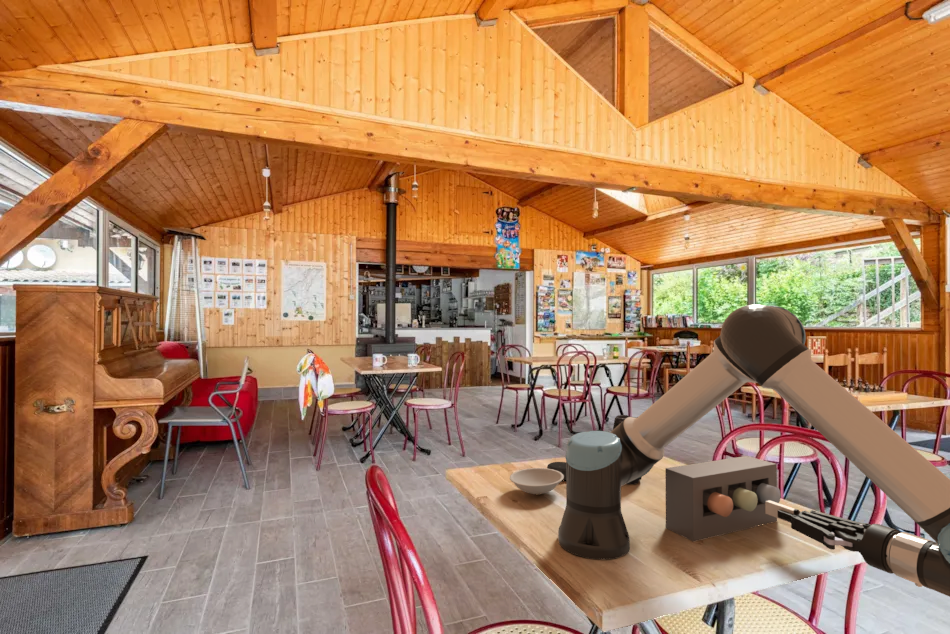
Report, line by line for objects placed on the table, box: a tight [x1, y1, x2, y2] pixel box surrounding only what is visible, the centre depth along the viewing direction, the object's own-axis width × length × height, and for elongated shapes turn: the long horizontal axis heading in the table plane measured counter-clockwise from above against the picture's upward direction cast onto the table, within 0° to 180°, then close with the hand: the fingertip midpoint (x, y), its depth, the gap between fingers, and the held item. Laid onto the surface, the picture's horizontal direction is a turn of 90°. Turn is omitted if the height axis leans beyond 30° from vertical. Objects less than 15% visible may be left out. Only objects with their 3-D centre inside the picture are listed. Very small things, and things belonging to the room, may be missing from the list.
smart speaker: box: [546, 461, 566, 480], centre depth 152 cm, size 9×9×4 cm
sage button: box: [728, 488, 758, 511], centre depth 112 cm, size 4×6×4 cm
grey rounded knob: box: [752, 483, 781, 503], centre depth 115 cm, size 4×6×4 cm
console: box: [665, 455, 778, 542], centre depth 116 cm, size 28×8×14 cm, turn 114°
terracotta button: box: [703, 492, 733, 517], centre depth 109 cm, size 4×6×4 cm
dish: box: [509, 467, 564, 495], centre depth 137 cm, size 18×14×5 cm
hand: (767, 506), depth 105 cm, fingers closed
